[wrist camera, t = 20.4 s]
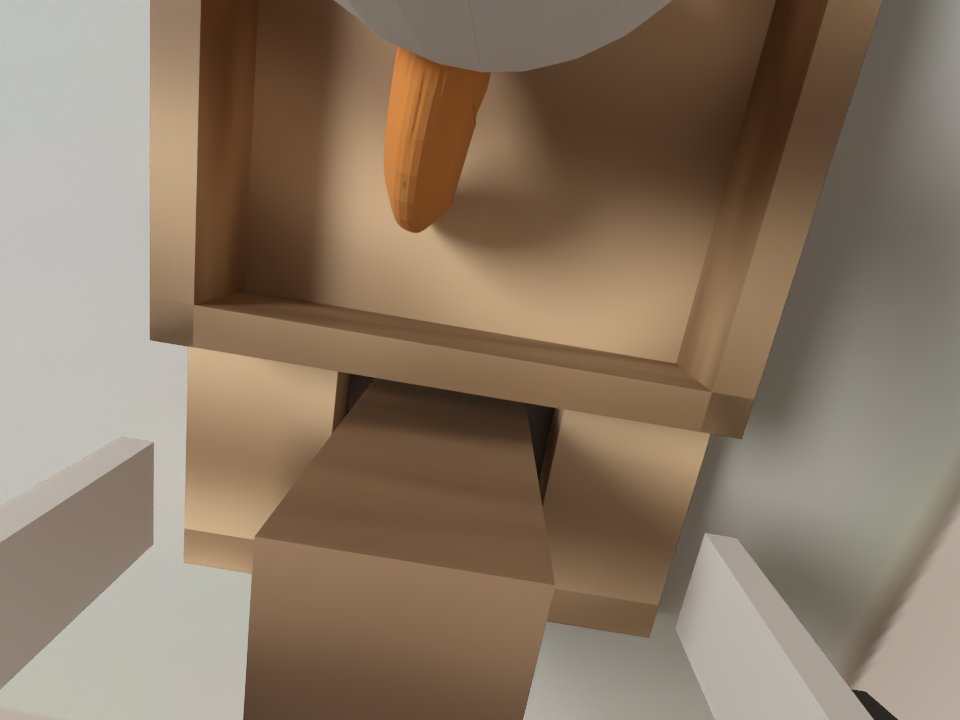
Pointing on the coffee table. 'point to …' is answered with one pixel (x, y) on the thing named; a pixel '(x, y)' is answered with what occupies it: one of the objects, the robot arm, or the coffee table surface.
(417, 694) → the block
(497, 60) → the toy rocket
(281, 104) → the tray
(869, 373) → the coffee table surface
